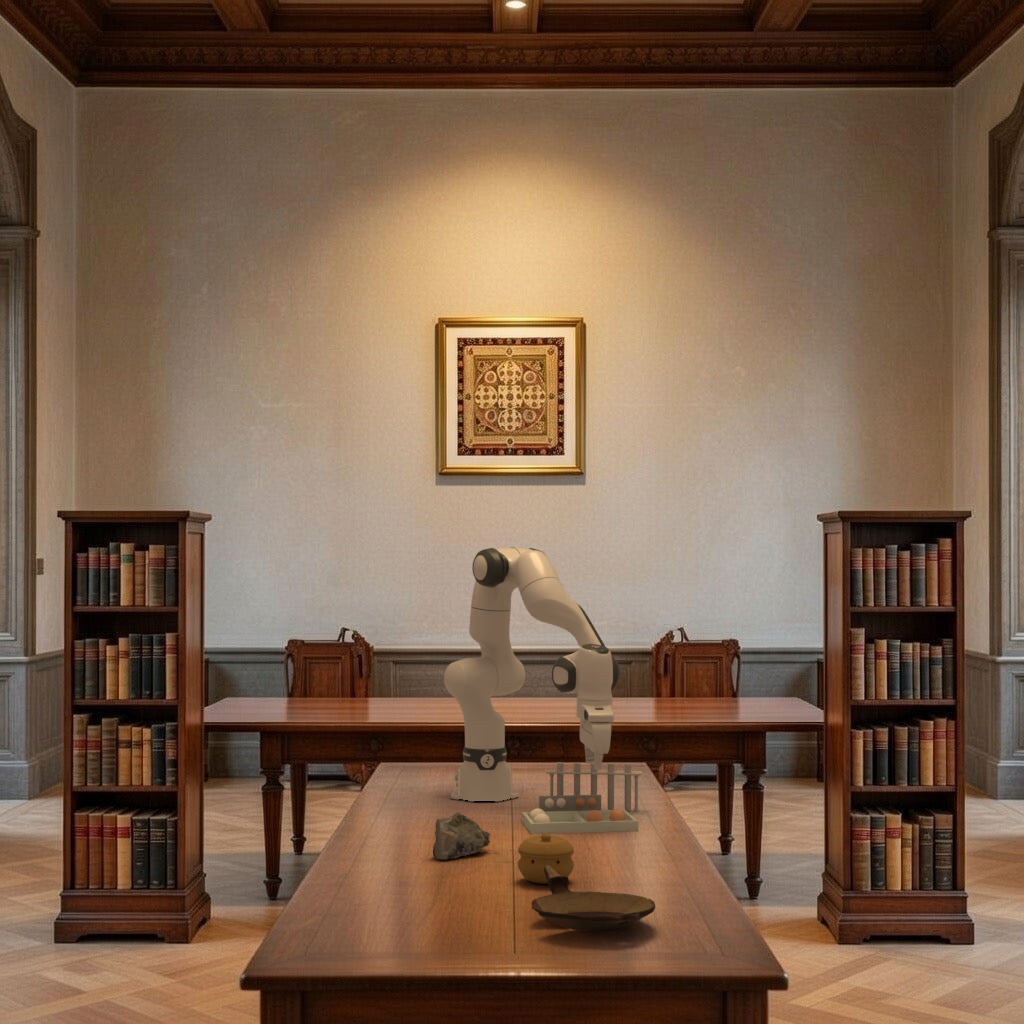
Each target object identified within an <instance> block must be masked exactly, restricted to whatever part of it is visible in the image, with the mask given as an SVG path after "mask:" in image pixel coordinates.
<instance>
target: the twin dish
mask: <svg viewBox="0 0 1024 1024" xmlns="http://www.w3.org/2000/svg"><path fill="white" fill-rule="evenodd" d="M621 810H622V811H623V812H624V814H625V821H610V819H609V815H610V813H611V812H612V811H613V810H608V809H601V810H600V811H599V812H600V813H601V814H602V816H603V821H594V822H587V815H588V813H589V812H590V811H554V812H545V814H546V815H547V816H548V817H549V818H550V823H534V822H533V821H532V820H531V819H530V813H531V811H522V812H521V814H522V815H521V822H522V824H523V825H524V826H525V828H526V829H527V831H528V832H529V833H530V835H536V834H538V835H542V834H544V833H548V834H575V833H576V834H579V833H581V834H582V833H583V834H584V833H617V832H618V833H619V832H620V833H622V832H639V820H638V819H637V818H635V817H634V816H633V815H631V814H629V813H628V812H627V811H626V810H625V809H621Z"/></svg>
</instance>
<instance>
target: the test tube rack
mask: <svg viewBox="0 0 1024 1024" xmlns="http://www.w3.org/2000/svg"><path fill="white" fill-rule="evenodd" d="M581 766H582V765H581V762H573V769H564V762H563V761H562V762H561V761H560V762H559V761H557V763H556V769H546V772H545V773H546V774H549V781H550V782H549V787H550V789H549V790H550V793H549V796H554V777H555V775H556V796H563V795H564V775H573V795H581V775H590V795H598V776H599V775H600V776H601V775H602V776H603V775H604V776H606V775H607V810H615V776H624V810H626V811H627V812H628V813H629V814H630V815H631V814H635V815H637V814H638V815H639V814H641V815H642V814H643V811H642V810H641V809H639V793H638V792H639V776H642V774H643V773H642V772H643V771H641V770H632V763H628V762H627V763H624V770H615V763H612V762H609V763H607V770H602V769H601V770H595V769H594V768H593V763H590V769H588V770H587V769H583V770H582V769H581ZM632 776H633V777H634V809H632Z"/></svg>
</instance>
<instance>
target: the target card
mask: <svg viewBox="0 0 1024 1024" xmlns="http://www.w3.org/2000/svg"><path fill="white" fill-rule="evenodd" d="M538 797H539V798H538V799H539V800H538V803H539V804H538V808H539V809H542V810H543V811H544V812H554V811H592V810H597V811H600V810H602V794H597V795H591V794H580V795H574V794H572V795H571V794H570V795H564V794H563V796H557V795H553V796H550V795H539V796H538Z"/></svg>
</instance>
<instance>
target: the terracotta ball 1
mask: <svg viewBox="0 0 1024 1024" xmlns="http://www.w3.org/2000/svg"><path fill="white" fill-rule="evenodd" d="M594 821H603V816H602V814H601V813H600V812H599V811H597V810H592V811H590V812H589V813H588V815H587V822H594Z"/></svg>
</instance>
